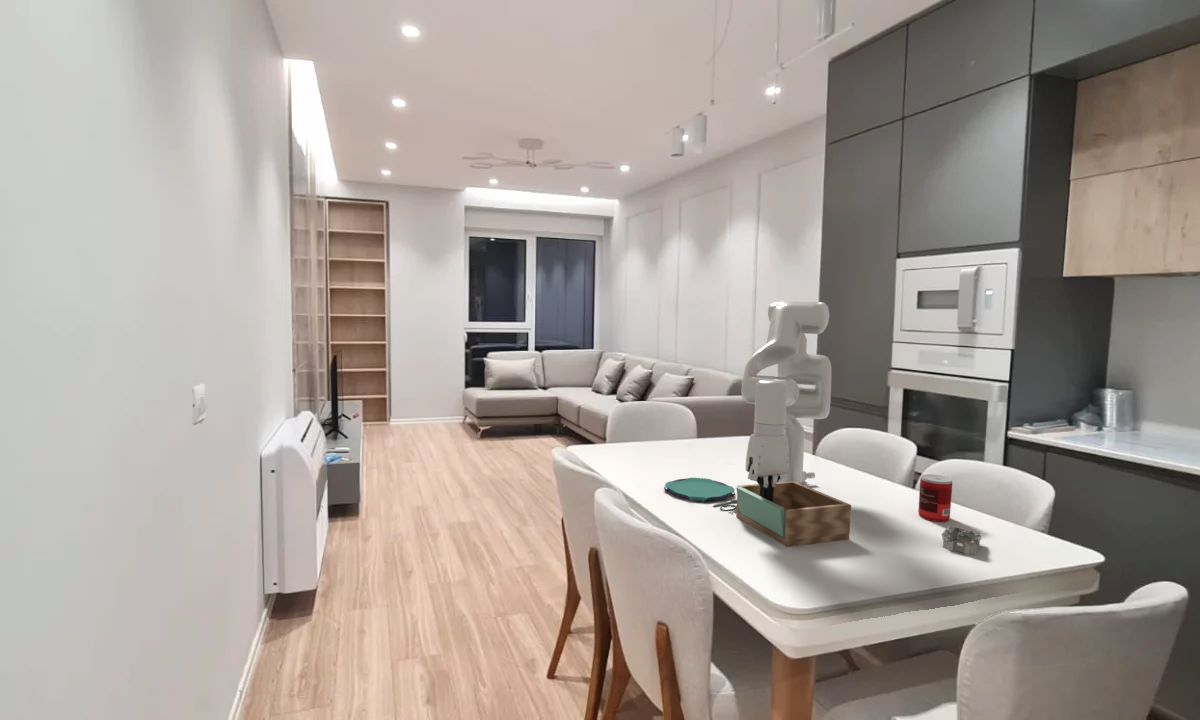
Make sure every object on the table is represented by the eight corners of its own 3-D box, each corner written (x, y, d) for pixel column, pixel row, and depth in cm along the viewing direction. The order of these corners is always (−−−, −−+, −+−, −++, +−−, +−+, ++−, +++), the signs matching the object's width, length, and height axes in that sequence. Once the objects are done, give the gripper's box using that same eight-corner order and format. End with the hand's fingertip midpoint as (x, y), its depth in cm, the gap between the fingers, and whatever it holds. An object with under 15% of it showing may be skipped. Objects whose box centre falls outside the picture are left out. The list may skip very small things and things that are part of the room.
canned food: (948, 515, 171) (951, 476, 170) (951, 524, 163) (953, 483, 163) (917, 511, 174) (919, 472, 173) (918, 519, 167) (921, 479, 166)
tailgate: (743, 511, 164) (740, 486, 163) (787, 535, 146) (784, 508, 145) (739, 512, 163) (736, 487, 162) (783, 537, 146) (779, 509, 145)
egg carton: (974, 558, 141) (975, 540, 141) (938, 549, 146) (939, 532, 146) (983, 545, 149) (984, 528, 149) (948, 537, 154) (949, 521, 154)
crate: (792, 511, 171) (794, 481, 170) (849, 539, 150) (851, 504, 150) (736, 516, 165) (737, 485, 164) (787, 546, 144) (789, 511, 144)
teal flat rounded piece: (700, 480, 201) (700, 473, 200) (773, 507, 176) (773, 499, 176) (652, 490, 190) (653, 482, 189) (723, 520, 165) (723, 512, 165)
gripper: (785, 425, 159) (781, 495, 161) (735, 428, 154) (732, 500, 155) (804, 431, 152) (800, 503, 154) (752, 434, 147) (749, 509, 148)
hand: (766, 501), depth 154 cm, fingers closed
